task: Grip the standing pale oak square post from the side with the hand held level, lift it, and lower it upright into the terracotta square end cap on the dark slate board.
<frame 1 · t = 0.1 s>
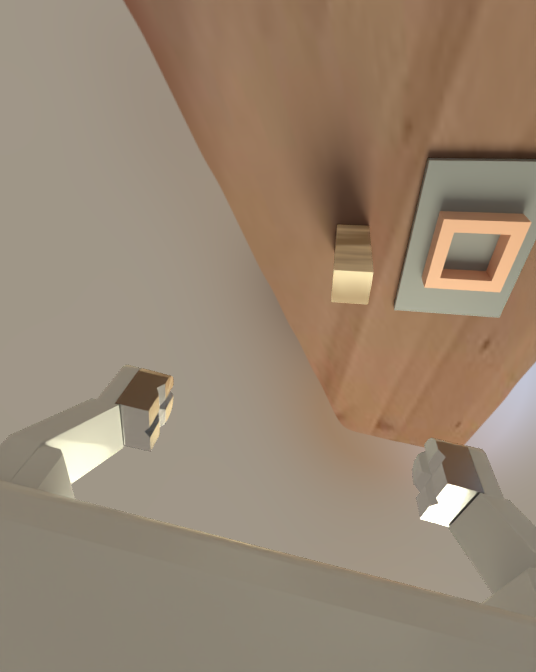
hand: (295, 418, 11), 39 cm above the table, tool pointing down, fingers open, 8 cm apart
cap board: (466, 244, 45), on the table
oak post: (351, 239, 48), on the table
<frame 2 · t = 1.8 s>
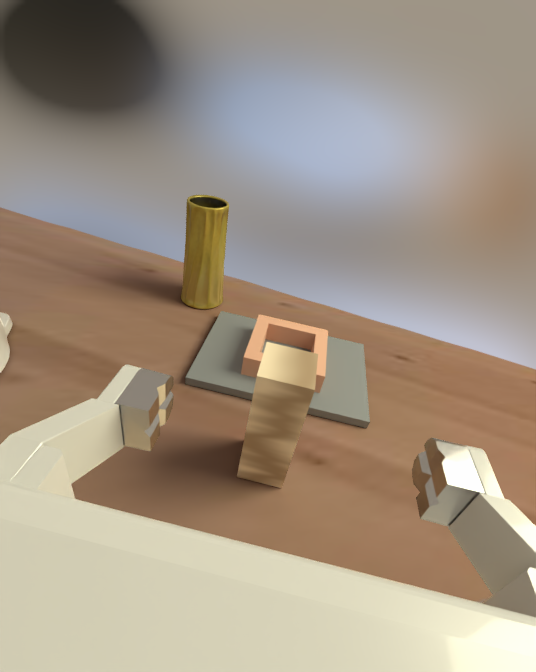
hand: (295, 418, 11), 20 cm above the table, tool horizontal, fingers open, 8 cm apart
cap board: (283, 365, 44), on the table
oak post: (263, 463, 33), on the table
vase: (201, 299, 54), on the table
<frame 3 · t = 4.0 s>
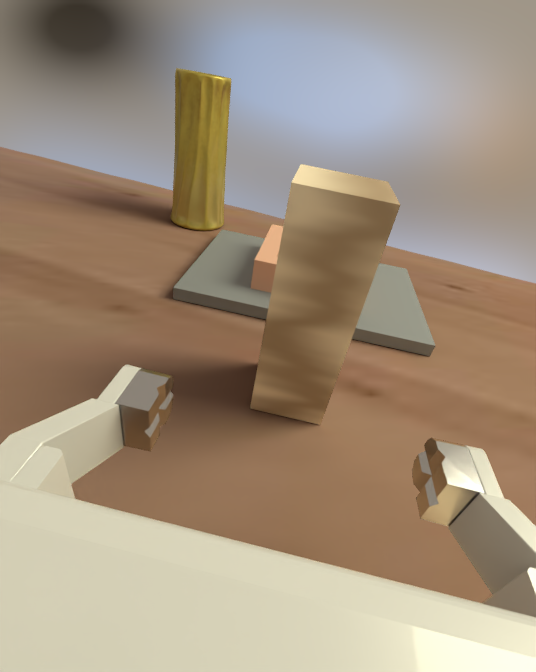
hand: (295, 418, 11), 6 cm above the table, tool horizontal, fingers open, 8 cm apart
cap board: (306, 286, 33), on the table
oak post: (289, 392, 22), on the table
vase: (197, 223, 43), on the table
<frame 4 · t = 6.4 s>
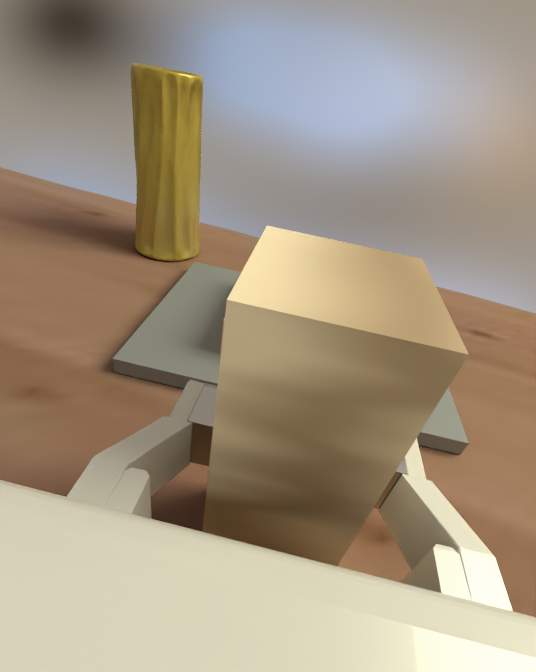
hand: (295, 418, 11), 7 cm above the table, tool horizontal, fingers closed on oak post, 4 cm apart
cap board: (295, 341, 26), on the table
oak post: (260, 544, 14), on the table, touching gripper
vase: (168, 250, 35), on the table
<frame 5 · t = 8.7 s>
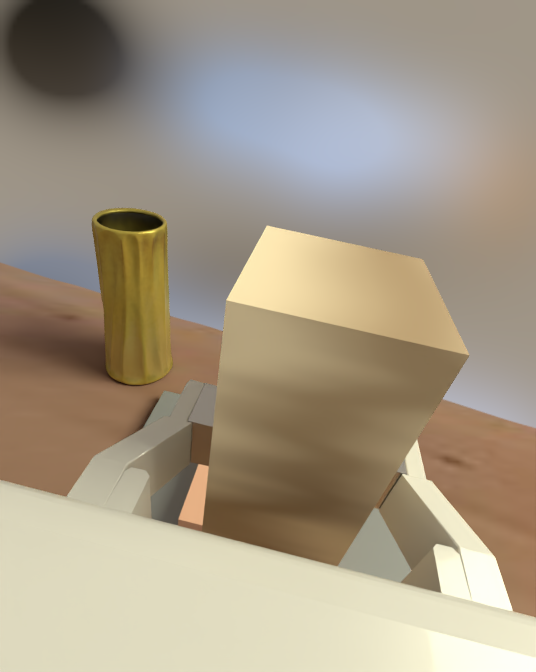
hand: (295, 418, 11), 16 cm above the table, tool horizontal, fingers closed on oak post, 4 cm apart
cap board: (260, 497, 26), on the table
oak post: (260, 545, 14), point 9 cm above the table, touching gripper
vase: (140, 365, 35), on the table
when the fingers open (9 cm above the table, at t = 11.4 s): oak post drops 1 cm, resting on cap board.
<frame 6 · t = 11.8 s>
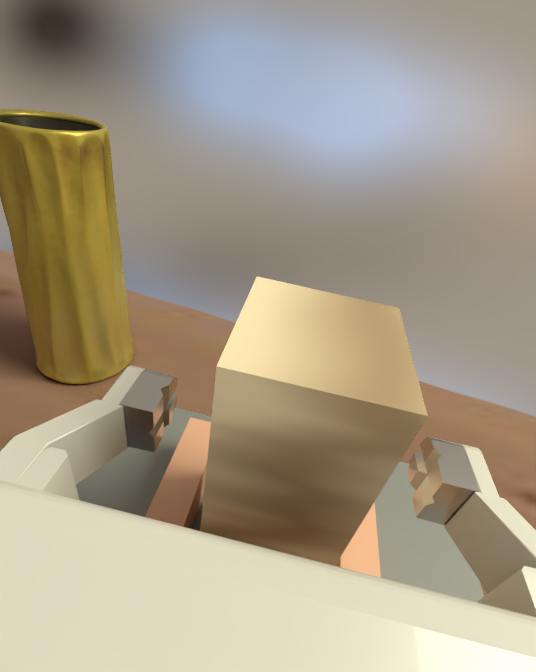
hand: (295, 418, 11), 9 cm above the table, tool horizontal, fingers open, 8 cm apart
cap board: (251, 570, 16), on the table
oak post: (254, 560, 15), point 1 cm above the table, touching cap board
vase: (88, 357, 25), on the table
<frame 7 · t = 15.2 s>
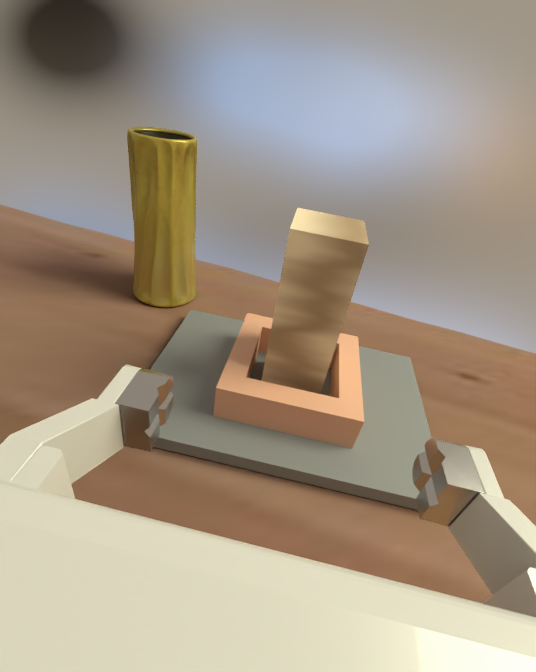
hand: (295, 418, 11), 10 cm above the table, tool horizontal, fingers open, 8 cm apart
cap board: (287, 394, 27), on the table
oak post: (289, 384, 26), point 1 cm above the table, touching cap board
vase: (165, 294, 36), on the table
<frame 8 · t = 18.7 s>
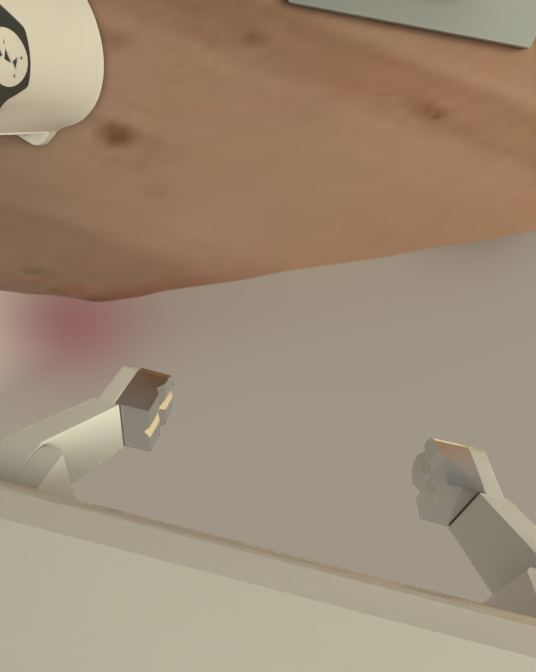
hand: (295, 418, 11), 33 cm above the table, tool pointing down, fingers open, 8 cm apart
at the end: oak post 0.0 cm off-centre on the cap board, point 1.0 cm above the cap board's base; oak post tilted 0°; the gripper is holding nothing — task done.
